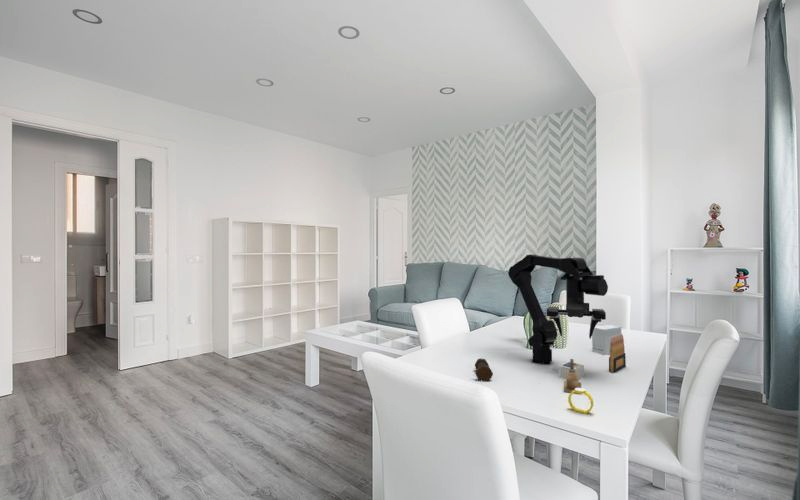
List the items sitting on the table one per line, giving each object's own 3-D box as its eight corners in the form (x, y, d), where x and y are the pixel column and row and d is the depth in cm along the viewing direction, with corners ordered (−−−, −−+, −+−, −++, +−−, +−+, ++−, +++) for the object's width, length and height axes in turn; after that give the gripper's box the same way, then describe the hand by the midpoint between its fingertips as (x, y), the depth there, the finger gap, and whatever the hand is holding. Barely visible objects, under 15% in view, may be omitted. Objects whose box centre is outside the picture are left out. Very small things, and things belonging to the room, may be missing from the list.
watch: (568, 411, 103) (566, 389, 103) (571, 408, 105) (569, 386, 106) (592, 415, 100) (590, 392, 100) (594, 412, 102) (592, 389, 102)
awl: (566, 388, 118) (566, 360, 118) (566, 385, 121) (566, 357, 121) (578, 390, 117) (577, 361, 117) (578, 386, 120) (577, 358, 120)
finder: (559, 377, 130) (559, 364, 130) (569, 373, 134) (569, 360, 134) (574, 381, 126) (573, 368, 126) (583, 376, 130) (583, 363, 130)
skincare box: (608, 348, 166) (608, 324, 166) (622, 352, 160) (622, 326, 160) (591, 351, 162) (591, 326, 162) (605, 355, 156) (604, 329, 156)
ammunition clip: (614, 373, 133) (614, 338, 133) (608, 372, 135) (608, 337, 135) (625, 366, 140) (625, 334, 140) (620, 365, 142) (619, 333, 142)
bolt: (483, 372, 141) (486, 385, 126) (470, 365, 142) (473, 377, 127) (490, 359, 141) (495, 370, 126) (478, 351, 142) (481, 362, 127)
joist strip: (563, 392, 116) (563, 391, 116) (565, 368, 139) (565, 367, 139) (581, 394, 114) (581, 393, 114) (580, 370, 137) (580, 369, 137)
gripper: (545, 294, 132) (545, 340, 132) (606, 296, 124) (607, 345, 125) (547, 291, 142) (547, 333, 142) (604, 293, 135) (604, 337, 135)
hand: (575, 337), depth 136 cm, fingers open, 9 cm apart
